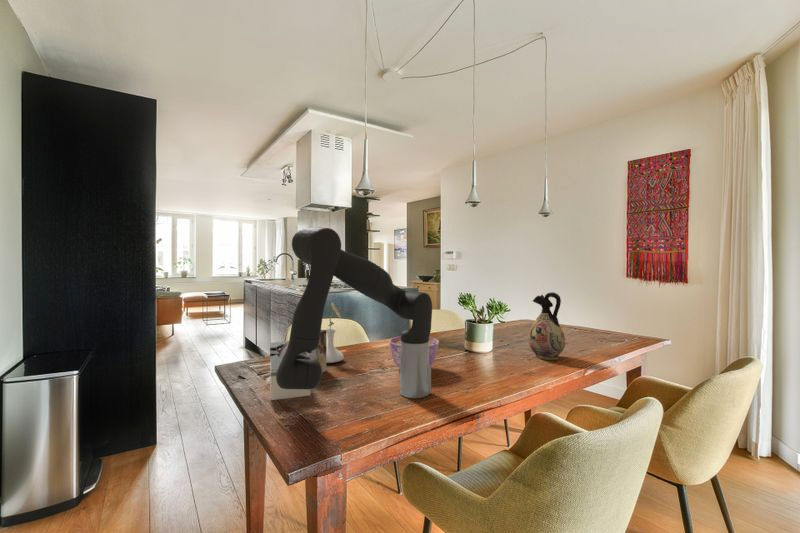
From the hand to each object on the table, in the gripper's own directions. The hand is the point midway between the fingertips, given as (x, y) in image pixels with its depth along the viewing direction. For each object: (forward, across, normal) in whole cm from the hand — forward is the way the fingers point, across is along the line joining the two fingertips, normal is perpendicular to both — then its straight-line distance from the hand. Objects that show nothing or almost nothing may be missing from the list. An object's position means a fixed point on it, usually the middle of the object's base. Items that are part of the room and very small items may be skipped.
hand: (289, 343), depth 119 cm
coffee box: (+16, -10, +16) cm, 25 cm away
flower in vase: (+31, -20, +16) cm, 40 cm away
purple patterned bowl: (+7, -48, +16) cm, 51 cm away
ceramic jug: (+3, -112, +16) cm, 113 cm away
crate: (-1, 0, +16) cm, 16 cm away
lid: (-2, 0, +3) cm, 4 cm away
